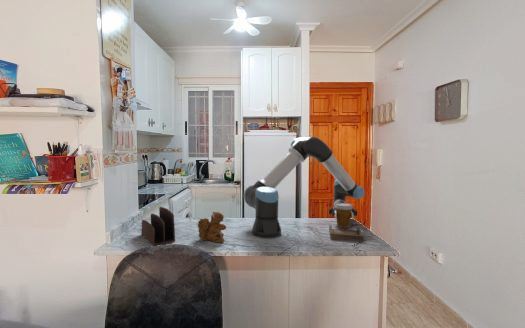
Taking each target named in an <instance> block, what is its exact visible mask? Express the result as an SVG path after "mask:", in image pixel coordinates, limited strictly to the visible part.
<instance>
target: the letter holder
mask: <svg viewBox="0 0 525 328" xmlns="http://www.w3.org/2000/svg"><path fill="white" fill-rule="evenodd" d="M158 214H159V216H158V215H157V214H155V213H150V222H149V221H147V220H145V219H142V220H141V236H142V237H144V238H145V239H146V240H147V241H148V242H149V243H150V244H151V245H152V246H153V247H155V246H154V245H157V246H161V245H160V244H162V245H167V244H170V243H174V242H176V234H175V233H176V229H175V215H174V213H173V212H172V211H170V210H169V209H168V208H165V207H163V206H159V213H158Z"/></svg>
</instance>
